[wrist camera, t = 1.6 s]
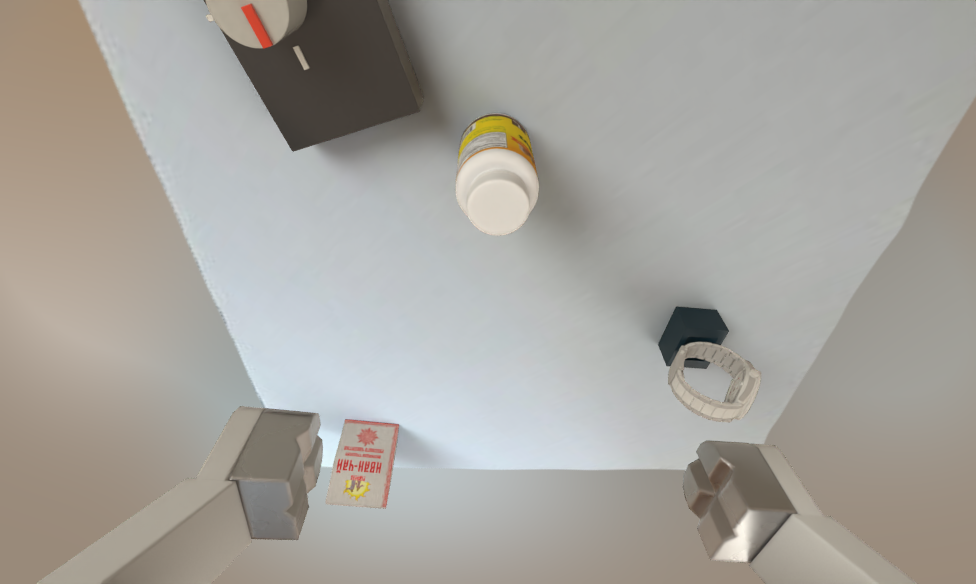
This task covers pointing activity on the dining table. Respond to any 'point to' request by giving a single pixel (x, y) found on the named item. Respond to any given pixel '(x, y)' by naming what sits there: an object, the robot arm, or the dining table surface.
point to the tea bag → (363, 464)
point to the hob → (334, 72)
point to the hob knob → (258, 19)
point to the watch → (706, 363)
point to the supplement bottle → (496, 174)
